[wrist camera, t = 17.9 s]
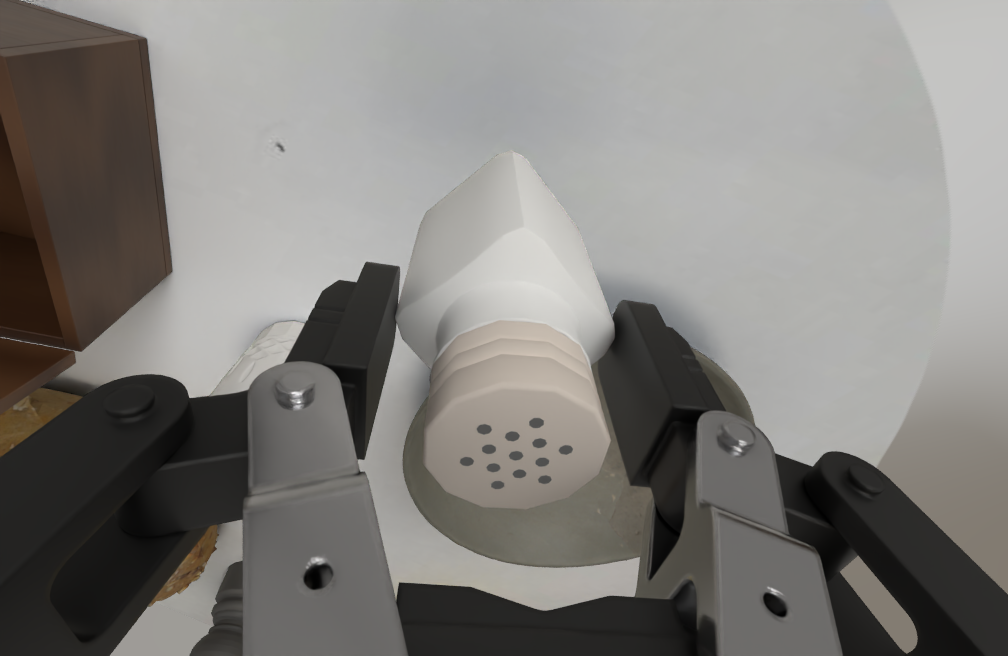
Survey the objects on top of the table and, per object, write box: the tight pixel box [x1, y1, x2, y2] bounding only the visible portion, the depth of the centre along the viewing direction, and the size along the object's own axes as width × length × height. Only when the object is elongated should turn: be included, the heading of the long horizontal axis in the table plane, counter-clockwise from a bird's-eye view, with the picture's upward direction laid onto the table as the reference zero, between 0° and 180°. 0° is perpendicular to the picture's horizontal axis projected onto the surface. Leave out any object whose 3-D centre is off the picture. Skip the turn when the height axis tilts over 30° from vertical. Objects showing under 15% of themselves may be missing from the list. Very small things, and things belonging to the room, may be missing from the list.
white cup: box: [210, 321, 305, 396], centre depth 36 cm, size 8×8×10 cm
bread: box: [0, 388, 219, 607], centre depth 43 cm, size 24×21×12 cm
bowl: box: [403, 348, 755, 568], centre depth 41 cm, size 27×28×8 cm
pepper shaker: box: [395, 150, 615, 509], centre depth 12 cm, size 4×4×10 cm
